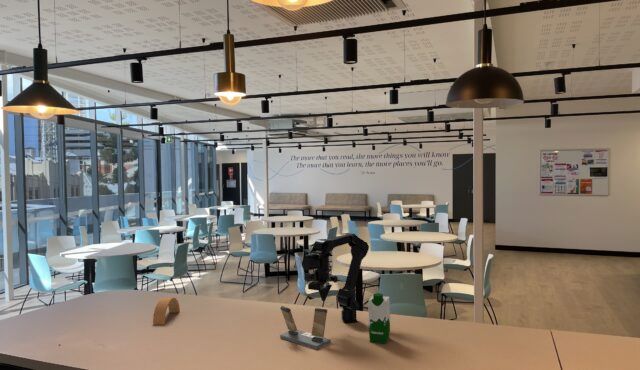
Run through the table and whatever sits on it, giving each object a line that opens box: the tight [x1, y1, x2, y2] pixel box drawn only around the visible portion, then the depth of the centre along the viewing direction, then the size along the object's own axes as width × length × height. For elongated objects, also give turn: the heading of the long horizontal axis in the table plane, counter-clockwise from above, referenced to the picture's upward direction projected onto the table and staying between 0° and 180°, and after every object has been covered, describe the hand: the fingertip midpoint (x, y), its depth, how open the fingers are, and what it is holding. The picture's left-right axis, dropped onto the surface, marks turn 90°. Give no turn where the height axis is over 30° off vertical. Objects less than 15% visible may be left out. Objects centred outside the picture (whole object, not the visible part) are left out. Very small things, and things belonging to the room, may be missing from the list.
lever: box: [280, 305, 298, 332], centre depth 194 cm, size 2×5×11 cm, turn 38°
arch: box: [152, 297, 181, 326], centre depth 225 cm, size 6×20×10 cm, turn 176°
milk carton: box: [367, 293, 391, 345], centre depth 190 cm, size 9×9×20 cm
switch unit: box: [279, 329, 332, 351], centre depth 191 cm, size 9×21×2 cm, turn 50°
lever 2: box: [311, 307, 328, 338], centre depth 188 cm, size 2×5×11 cm, turn 62°
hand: (323, 301), depth 204 cm, fingers closed
